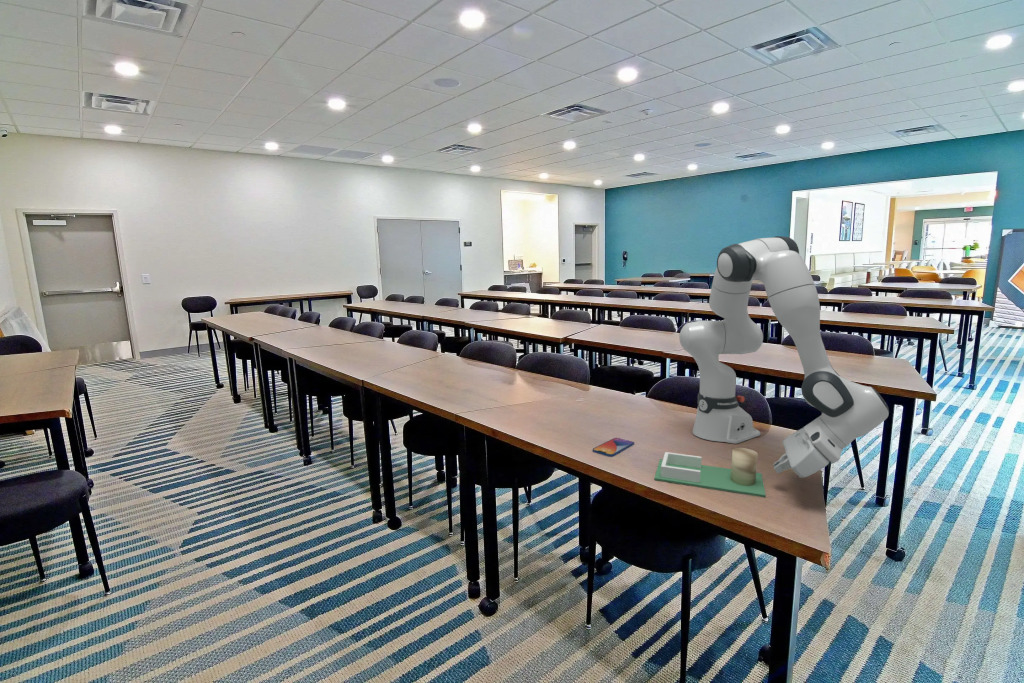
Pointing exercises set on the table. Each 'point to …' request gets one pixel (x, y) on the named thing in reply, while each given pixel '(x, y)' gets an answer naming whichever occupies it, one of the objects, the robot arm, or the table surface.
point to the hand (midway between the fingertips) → (775, 469)
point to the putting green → (702, 475)
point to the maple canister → (743, 466)
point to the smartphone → (613, 447)
